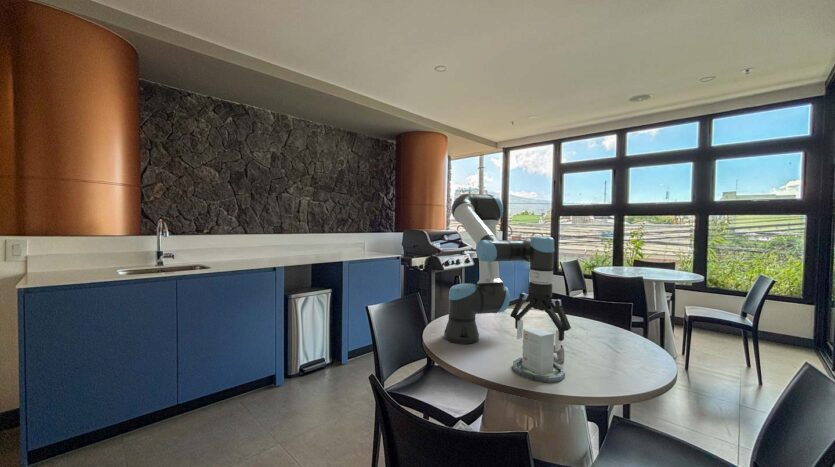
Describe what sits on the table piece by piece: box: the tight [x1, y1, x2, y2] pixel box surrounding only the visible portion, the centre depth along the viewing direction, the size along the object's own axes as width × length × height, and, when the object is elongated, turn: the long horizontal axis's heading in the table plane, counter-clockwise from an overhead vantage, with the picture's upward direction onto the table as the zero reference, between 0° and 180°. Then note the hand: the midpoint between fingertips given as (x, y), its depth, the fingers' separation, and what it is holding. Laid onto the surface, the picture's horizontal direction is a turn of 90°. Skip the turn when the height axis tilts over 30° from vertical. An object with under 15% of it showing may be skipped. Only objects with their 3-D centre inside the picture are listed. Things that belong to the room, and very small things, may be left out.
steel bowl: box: [512, 357, 566, 384], centre depth 114 cm, size 16×16×2 cm
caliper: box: [554, 344, 565, 362], centre depth 132 cm, size 20×1×6 cm, turn 9°
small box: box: [522, 327, 555, 375], centre depth 114 cm, size 8×6×13 cm
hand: (537, 343), depth 114 cm, fingers open, 13 cm apart
